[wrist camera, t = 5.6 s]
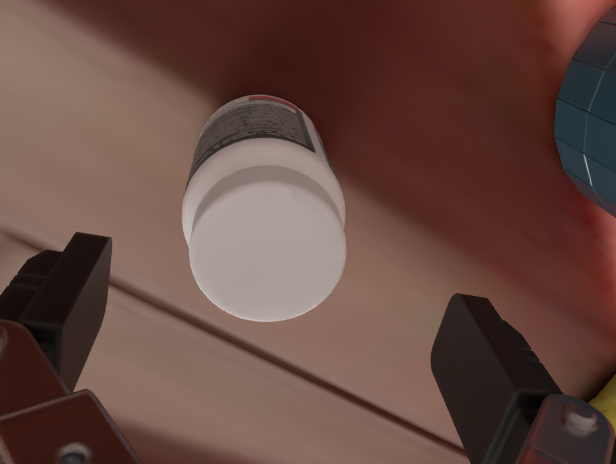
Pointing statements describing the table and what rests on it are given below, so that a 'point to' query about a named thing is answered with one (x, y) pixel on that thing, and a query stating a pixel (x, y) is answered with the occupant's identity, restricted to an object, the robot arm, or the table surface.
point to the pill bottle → (263, 211)
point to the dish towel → (607, 401)
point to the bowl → (590, 116)
